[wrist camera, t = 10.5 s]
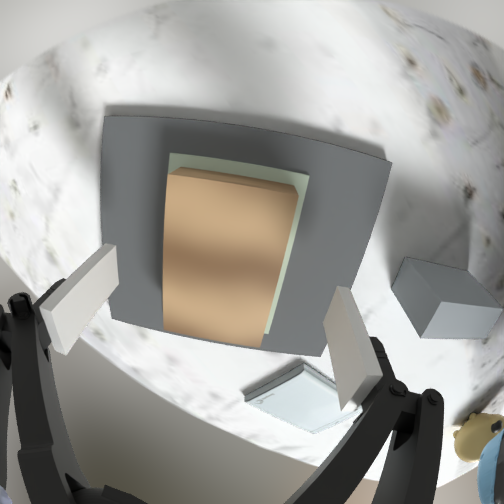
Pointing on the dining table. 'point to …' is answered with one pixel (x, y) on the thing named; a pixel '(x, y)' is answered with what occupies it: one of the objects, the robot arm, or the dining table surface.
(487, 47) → the dining table surface
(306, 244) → the mat
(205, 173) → the card box
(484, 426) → the toy pig
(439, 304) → the stand
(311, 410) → the hard drive
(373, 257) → the dining table surface
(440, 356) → the dining table surface
